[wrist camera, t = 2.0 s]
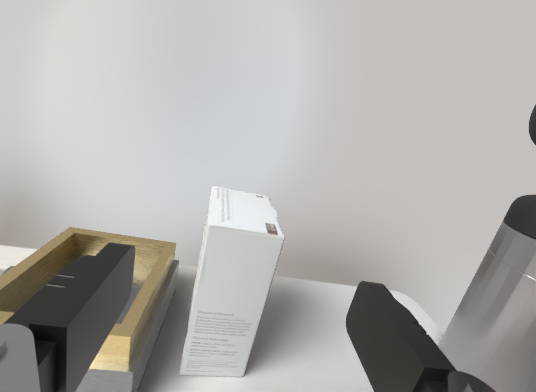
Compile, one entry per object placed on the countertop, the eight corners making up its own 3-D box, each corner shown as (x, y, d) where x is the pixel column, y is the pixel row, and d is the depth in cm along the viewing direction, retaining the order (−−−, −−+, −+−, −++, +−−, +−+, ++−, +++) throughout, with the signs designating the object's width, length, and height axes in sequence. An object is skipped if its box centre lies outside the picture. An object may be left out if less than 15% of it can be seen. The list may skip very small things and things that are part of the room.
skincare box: (188, 309, 31) (208, 183, 26) (242, 313, 32) (269, 192, 28) (177, 382, 23) (203, 220, 18) (248, 382, 24) (289, 231, 20)
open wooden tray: (175, 289, 33) (181, 241, 31) (129, 412, 20) (135, 343, 18) (39, 272, 31) (36, 219, 29) (-113, 397, 18) (-136, 317, 16)
